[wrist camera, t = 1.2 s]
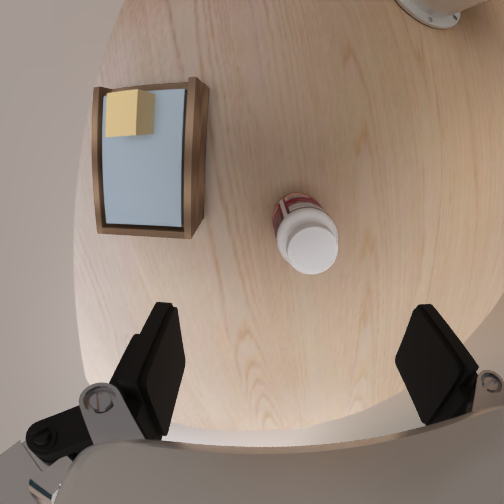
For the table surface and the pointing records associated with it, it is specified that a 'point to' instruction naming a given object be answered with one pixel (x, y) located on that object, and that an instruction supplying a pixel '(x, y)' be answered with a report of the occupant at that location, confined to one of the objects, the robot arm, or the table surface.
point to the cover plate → (144, 156)
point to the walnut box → (192, 162)
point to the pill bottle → (305, 233)
